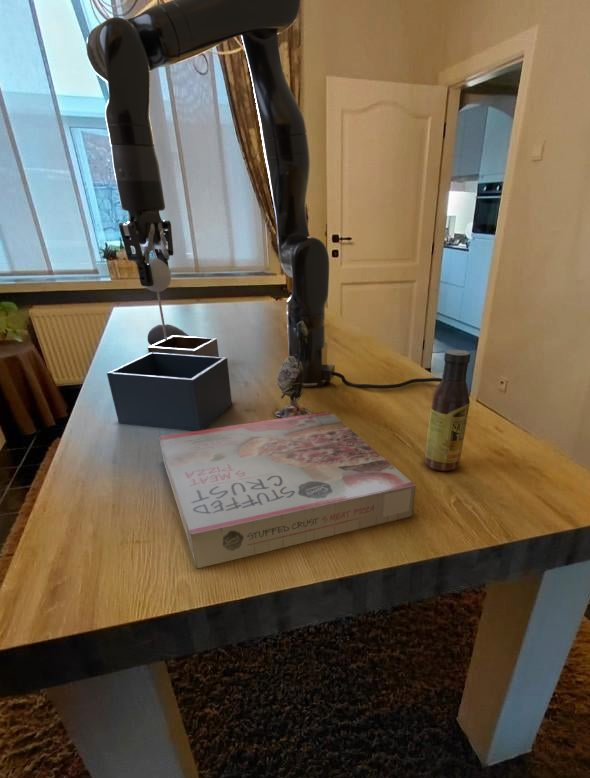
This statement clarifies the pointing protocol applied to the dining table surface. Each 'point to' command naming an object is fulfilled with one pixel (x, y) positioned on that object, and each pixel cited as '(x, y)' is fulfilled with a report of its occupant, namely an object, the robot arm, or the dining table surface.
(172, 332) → the seashell
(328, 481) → the pizza box
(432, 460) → the sauce bottle
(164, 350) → the basket
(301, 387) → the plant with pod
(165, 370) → the bin
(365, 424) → the dining table surface
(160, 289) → the lollipop
